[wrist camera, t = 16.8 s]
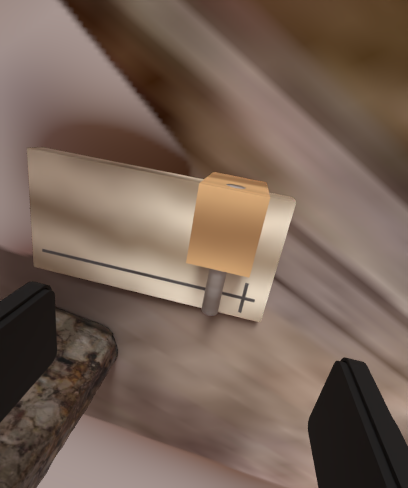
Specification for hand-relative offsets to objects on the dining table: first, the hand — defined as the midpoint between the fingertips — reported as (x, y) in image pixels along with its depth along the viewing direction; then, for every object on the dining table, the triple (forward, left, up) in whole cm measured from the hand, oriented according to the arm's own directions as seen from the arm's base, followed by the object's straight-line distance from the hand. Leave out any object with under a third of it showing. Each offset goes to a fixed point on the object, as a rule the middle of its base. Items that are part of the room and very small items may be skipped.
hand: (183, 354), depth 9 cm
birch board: (+2, -6, -17) cm, 18 cm away
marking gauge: (0, 0, -14) cm, 14 cm away
